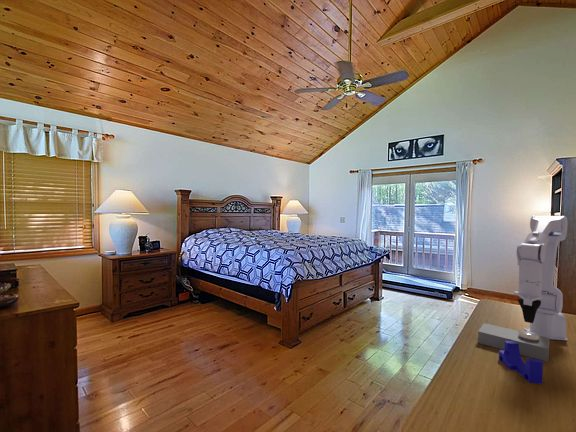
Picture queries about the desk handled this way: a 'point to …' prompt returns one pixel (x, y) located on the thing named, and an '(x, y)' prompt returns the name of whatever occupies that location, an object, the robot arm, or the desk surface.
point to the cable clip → (521, 363)
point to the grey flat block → (499, 335)
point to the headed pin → (528, 336)
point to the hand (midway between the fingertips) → (528, 322)
